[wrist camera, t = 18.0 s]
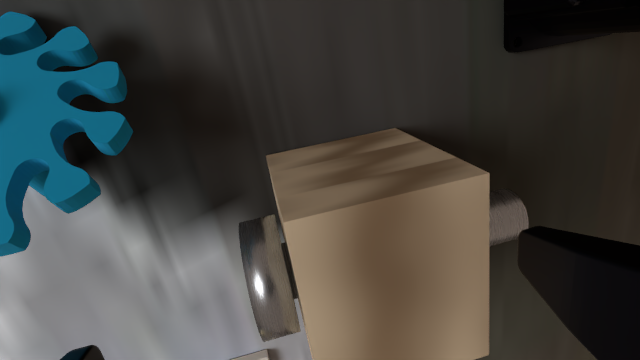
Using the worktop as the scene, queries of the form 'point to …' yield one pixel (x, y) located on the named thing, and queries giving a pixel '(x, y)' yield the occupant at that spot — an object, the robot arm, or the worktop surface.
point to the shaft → (277, 273)
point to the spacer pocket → (255, 356)
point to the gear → (50, 120)
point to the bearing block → (386, 247)
